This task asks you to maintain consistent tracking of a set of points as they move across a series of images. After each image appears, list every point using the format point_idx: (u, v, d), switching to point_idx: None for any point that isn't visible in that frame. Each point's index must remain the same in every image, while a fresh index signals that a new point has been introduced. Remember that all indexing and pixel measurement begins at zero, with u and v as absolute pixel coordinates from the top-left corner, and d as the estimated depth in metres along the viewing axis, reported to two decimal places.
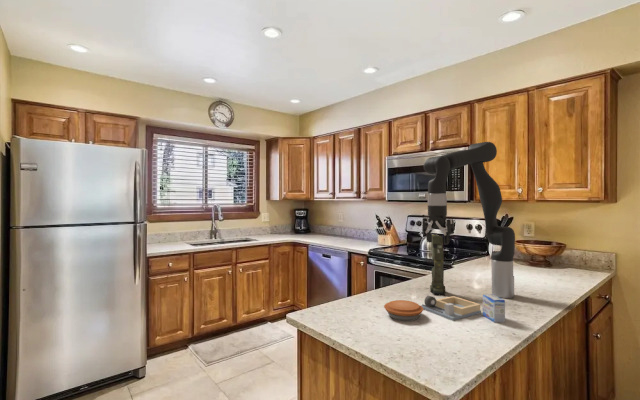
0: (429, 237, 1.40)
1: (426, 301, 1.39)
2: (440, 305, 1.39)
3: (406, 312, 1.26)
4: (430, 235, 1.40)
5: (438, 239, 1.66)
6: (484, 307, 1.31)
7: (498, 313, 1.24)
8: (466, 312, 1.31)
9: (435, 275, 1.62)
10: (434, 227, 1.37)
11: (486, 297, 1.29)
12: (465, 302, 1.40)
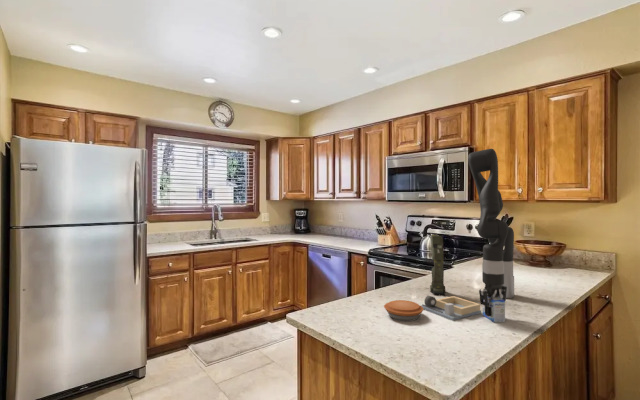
0: None
1: (426, 301, 1.39)
2: (440, 305, 1.39)
3: (406, 312, 1.26)
4: None
5: (438, 239, 1.66)
6: (484, 307, 1.31)
7: (498, 313, 1.24)
8: (466, 312, 1.31)
9: (435, 275, 1.62)
10: (495, 295, 1.27)
11: None
12: (465, 302, 1.40)
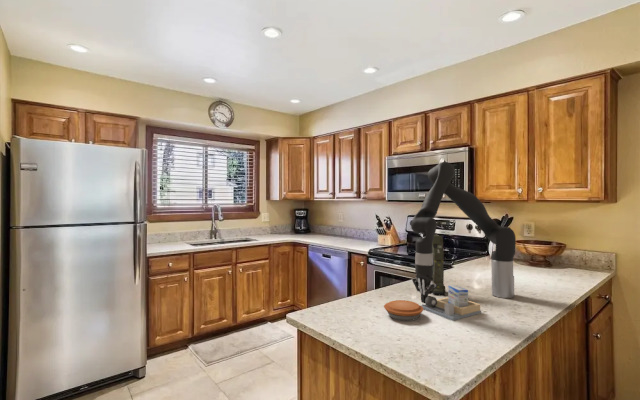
0: None
1: (427, 301, 1.39)
2: (440, 305, 1.39)
3: (406, 312, 1.26)
4: None
5: (438, 239, 1.66)
6: (449, 297, 1.40)
7: (462, 302, 1.34)
8: (466, 312, 1.31)
9: (435, 275, 1.62)
10: None
11: (451, 288, 1.39)
12: None
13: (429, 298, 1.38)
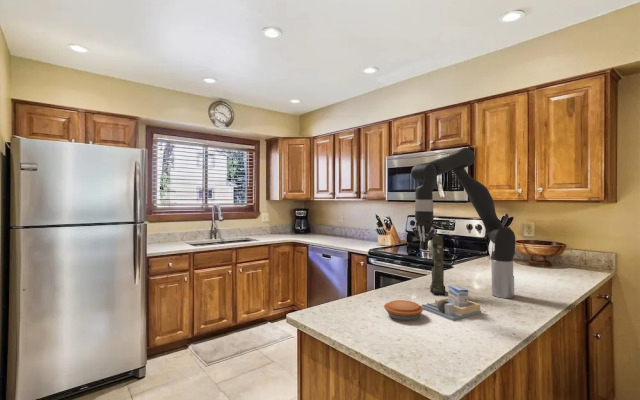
0: None
1: (439, 306, 1.33)
2: None
3: (406, 312, 1.26)
4: None
5: (438, 239, 1.66)
6: (449, 297, 1.40)
7: (462, 302, 1.34)
8: (466, 312, 1.31)
9: (435, 275, 1.62)
10: None
11: (451, 288, 1.39)
12: None
13: (442, 302, 1.33)
